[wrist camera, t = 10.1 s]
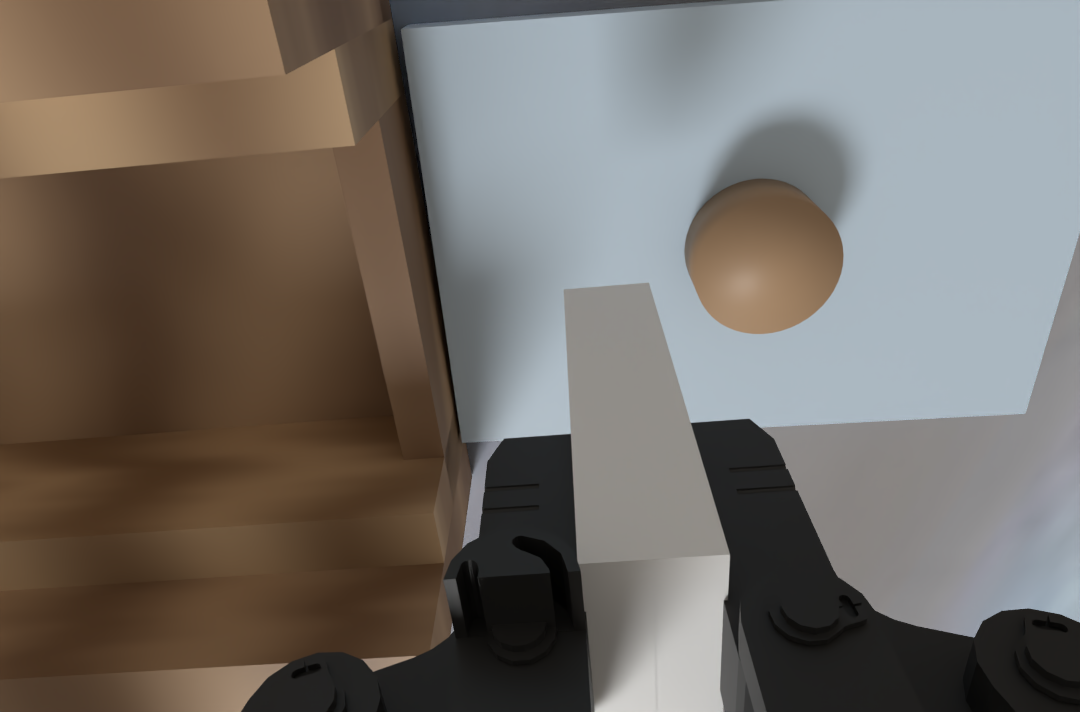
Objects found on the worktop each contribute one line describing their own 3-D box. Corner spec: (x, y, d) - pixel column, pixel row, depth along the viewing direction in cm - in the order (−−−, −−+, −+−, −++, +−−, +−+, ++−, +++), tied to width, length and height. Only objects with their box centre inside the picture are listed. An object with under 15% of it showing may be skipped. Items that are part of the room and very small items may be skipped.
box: (-42, 511, 23) (-277, 741, 16) (-352, 16, 16) (-968, 71, 9) (472, 476, 22) (441, 703, 16) (378, -62, 15) (252, -61, 9)
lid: (467, 410, 22) (456, 475, 19) (412, 21, 17) (387, 36, 14) (993, 382, 21) (1057, 445, 18) (1104, -31, 16) (1213, -25, 13)
